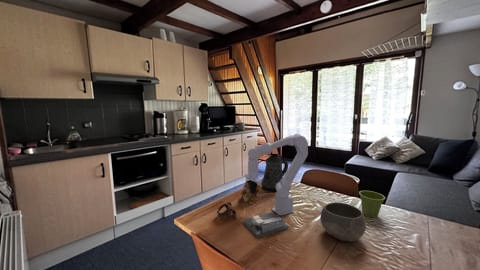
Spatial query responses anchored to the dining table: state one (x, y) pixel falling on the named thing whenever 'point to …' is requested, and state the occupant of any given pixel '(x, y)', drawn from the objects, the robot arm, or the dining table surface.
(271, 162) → the beer stein
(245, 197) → the stuffed squirrel
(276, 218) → the strap
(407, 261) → the dining table surface
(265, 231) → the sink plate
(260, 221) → the block
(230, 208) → the pottery mug
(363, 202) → the plant pot
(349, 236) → the bowl
